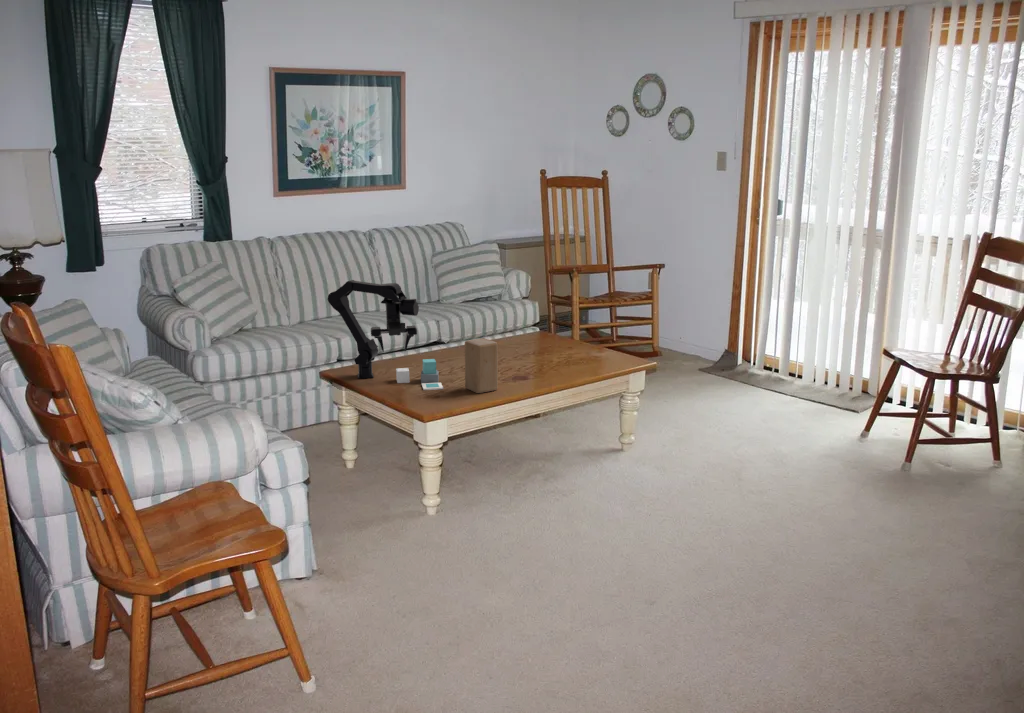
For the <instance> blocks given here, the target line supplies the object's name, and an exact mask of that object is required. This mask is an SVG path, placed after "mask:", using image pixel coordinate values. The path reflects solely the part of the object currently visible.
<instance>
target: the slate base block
mask: <svg viewBox="0 0 1024 713" xmlns="http://www.w3.org/2000/svg"><path fill="white" fill-rule="evenodd" d="M439 378H440V376H439V370H437V369H436V374H424V373H423V369H422V370H421V371H420V384H421V385H422V383H439Z"/></svg>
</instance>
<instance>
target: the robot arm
mask: <svg viewBox="0 0 1024 713" xmlns="http://www.w3.org/2000/svg"><path fill="white" fill-rule="evenodd" d="M352 292H359V293H360V292H361V293H367V294H373V295H374V294H375V295H378V296H380V297H382V298H383V299H382V301H380V304H383V305H384V304H385V309H386V310H385V314H386V317H385V318H386V320H385V321H386V328H381V326H372V327H370V335H371V336H370V337H374V338H371V339H370V338H368V336H367V335H366V333H365V332H364V329H362V327H361V325H360V323H359V321H358V320H357V318H356V316H355V314H354V313H353V311H352V309H351V307H350V300H349V295H351V293H352ZM327 302H328V304H329V305H330V307H332V308H333V309H334V310H335V311H337V312H338V313H339V315H340V317H341V318H342V320H343V321H344V323H345V325H346V327H347V329H348V330H349V332H350V333H351V336H352V337H353V339H354V341H355V342H356V348H357V352H358V355H357V356H356V357H355V358H354V361H353V362H354V363H355V365H358V366H357V367H358V370H357V371H358V373H357V379H374V376H375V375H374V373H373V361H375V359H376V357H377V356H378V354H379V349H378V347H379V345H378V344H377V343H376V341H375V339H377V340H378V342H379V344H380V348H381V350H382V352H383V353H384V351H385V349H384V343H383V342H384V341H383V338H382V337H383V336H382V335H383V334H388V335H389V337H390V336H391V337H393V336H401V334H404V333H405V335H404V336H405V339H404V351H405V352H406V351H407V348H408V345H409V342H410V341H411V338H413V337H415V336H417V334H418V330H417V326H416V325H406V322H401V315H403V316H418V314H419V308H420V306H419V304H418V302H417V298H407V296H406V295H405V293H404V291H403V290H402V287H401V285H400V284H399V283H397V282H389V283H373V282H367V281H359V280H354V279H351V280H348V281H346V282H345V283H343V285H341V286H340V287H339V288H338V289H336V290H334V291H332V292H330V293H329V294H328V296H327ZM414 335H415V336H414Z"/></svg>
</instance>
